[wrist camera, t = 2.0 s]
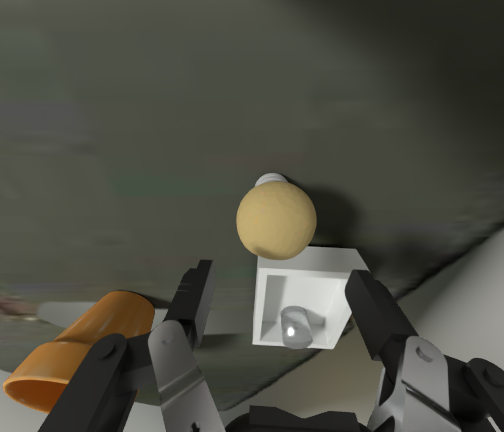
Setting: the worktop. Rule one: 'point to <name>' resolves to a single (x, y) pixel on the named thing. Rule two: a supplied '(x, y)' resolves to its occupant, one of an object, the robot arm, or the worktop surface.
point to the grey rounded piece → (295, 327)
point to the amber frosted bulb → (276, 219)
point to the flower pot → (76, 348)
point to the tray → (305, 293)
